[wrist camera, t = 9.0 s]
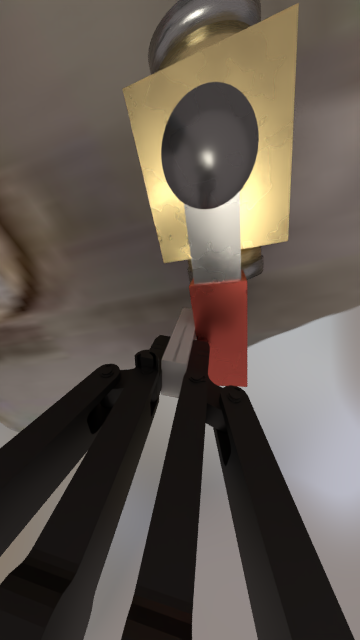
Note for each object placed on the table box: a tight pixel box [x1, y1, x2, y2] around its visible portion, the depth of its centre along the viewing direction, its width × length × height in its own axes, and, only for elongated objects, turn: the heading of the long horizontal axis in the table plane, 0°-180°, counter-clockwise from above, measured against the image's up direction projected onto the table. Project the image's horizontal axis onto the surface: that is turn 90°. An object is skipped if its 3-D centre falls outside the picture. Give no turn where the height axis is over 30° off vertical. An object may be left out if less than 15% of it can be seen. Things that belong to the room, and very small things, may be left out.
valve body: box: [123, 3, 299, 272], centre depth 16 cm, size 14×9×11 cm, turn 13°
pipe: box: [148, 0, 263, 283], centre depth 16 cm, size 16×8×8 cm, turn 13°
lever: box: [161, 82, 259, 387], centre depth 12 cm, size 17×4×3 cm, turn 10°
